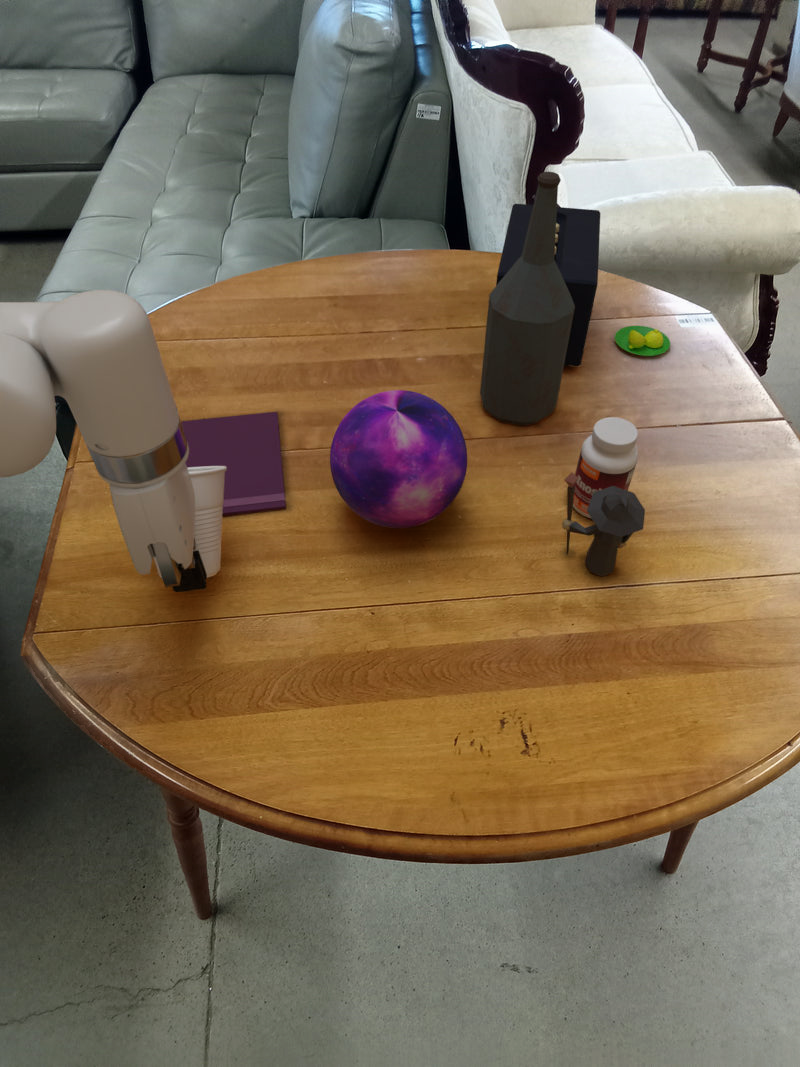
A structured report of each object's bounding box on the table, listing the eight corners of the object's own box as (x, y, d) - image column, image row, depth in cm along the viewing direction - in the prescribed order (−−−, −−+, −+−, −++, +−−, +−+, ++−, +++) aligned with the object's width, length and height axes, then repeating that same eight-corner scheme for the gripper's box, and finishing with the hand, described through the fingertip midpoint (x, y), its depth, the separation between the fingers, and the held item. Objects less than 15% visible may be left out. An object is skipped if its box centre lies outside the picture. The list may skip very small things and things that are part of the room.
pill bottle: (561, 511, 88) (578, 437, 80) (578, 479, 92) (595, 405, 84) (614, 529, 86) (636, 455, 78) (628, 495, 90) (651, 422, 82)
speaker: (503, 290, 122) (513, 197, 111) (583, 298, 120) (601, 204, 110) (487, 366, 108) (497, 267, 97) (578, 376, 106) (599, 277, 95)
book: (163, 523, 87) (162, 519, 86) (170, 425, 99) (169, 421, 98) (286, 509, 88) (285, 505, 88) (277, 414, 100) (277, 410, 100)
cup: (248, 563, 83) (237, 463, 82) (224, 583, 74) (211, 471, 72) (160, 569, 84) (147, 470, 82) (125, 590, 74) (109, 478, 72)
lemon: (645, 365, 108) (650, 348, 106) (602, 341, 112) (606, 324, 110) (680, 346, 111) (685, 329, 109) (637, 323, 115) (641, 306, 113)
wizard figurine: (621, 545, 84) (647, 464, 75) (632, 584, 80) (660, 504, 72) (547, 545, 84) (564, 465, 75) (554, 584, 80) (573, 504, 72)
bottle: (559, 388, 104) (602, 161, 82) (550, 432, 98) (594, 199, 76) (486, 377, 106) (509, 152, 84) (472, 419, 99) (493, 187, 78)
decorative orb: (320, 546, 84) (309, 443, 73) (349, 458, 94) (343, 356, 83) (454, 564, 82) (463, 460, 71) (469, 472, 92) (478, 369, 81)
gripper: (102, 393, 66) (158, 534, 80) (78, 514, 56) (146, 652, 70) (189, 384, 67) (229, 525, 80) (180, 502, 57) (228, 641, 70)
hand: (191, 584), depth 75 cm, fingers closed
